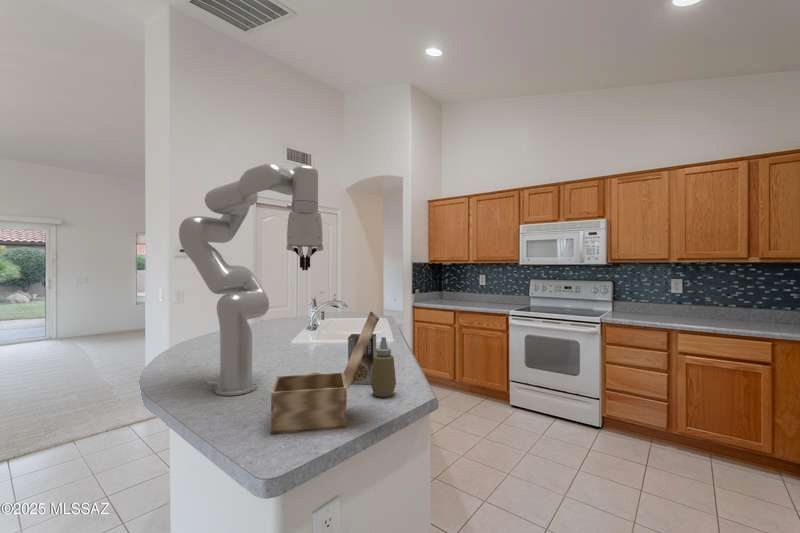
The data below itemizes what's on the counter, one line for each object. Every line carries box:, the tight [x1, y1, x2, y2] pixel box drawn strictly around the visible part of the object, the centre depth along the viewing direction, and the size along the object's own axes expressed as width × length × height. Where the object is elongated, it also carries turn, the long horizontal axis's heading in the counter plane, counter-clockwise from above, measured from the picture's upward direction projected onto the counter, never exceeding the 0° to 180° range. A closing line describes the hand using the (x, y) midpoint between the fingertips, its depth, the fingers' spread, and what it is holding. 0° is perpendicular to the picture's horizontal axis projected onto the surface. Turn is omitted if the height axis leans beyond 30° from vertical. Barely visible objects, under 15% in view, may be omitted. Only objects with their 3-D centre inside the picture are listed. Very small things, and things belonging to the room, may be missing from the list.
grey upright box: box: [347, 333, 377, 385], centre depth 128 cm, size 9×6×16 cm
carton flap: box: [343, 311, 380, 389], centre depth 99 cm, size 19×13×1 cm
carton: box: [270, 372, 348, 435], centre depth 97 cm, size 18×13×10 cm
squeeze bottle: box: [370, 336, 397, 398], centre depth 115 cm, size 8×8×18 cm
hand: (305, 270), depth 110 cm, fingers closed
